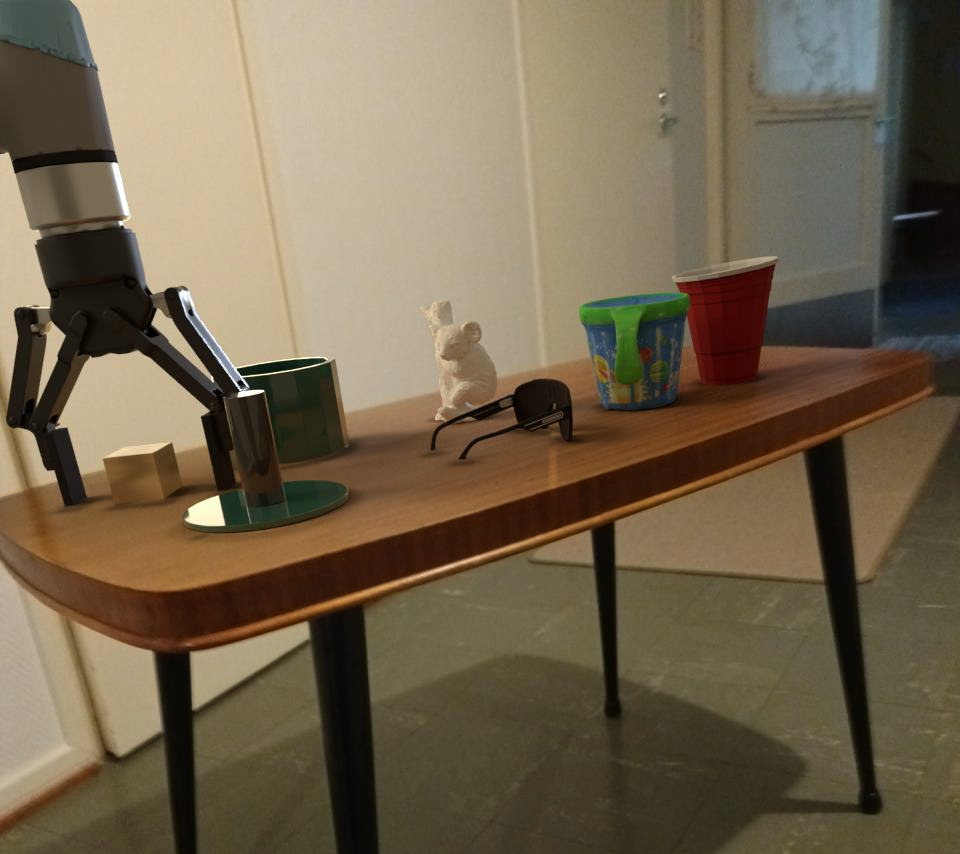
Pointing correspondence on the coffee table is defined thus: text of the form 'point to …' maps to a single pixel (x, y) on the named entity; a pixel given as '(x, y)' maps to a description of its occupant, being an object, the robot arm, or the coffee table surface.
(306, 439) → the tin
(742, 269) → the plastic cup
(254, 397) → the lid
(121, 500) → the block
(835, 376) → the coffee table surface
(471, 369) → the koala figurine
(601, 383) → the snack cup
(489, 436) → the sunglasses
